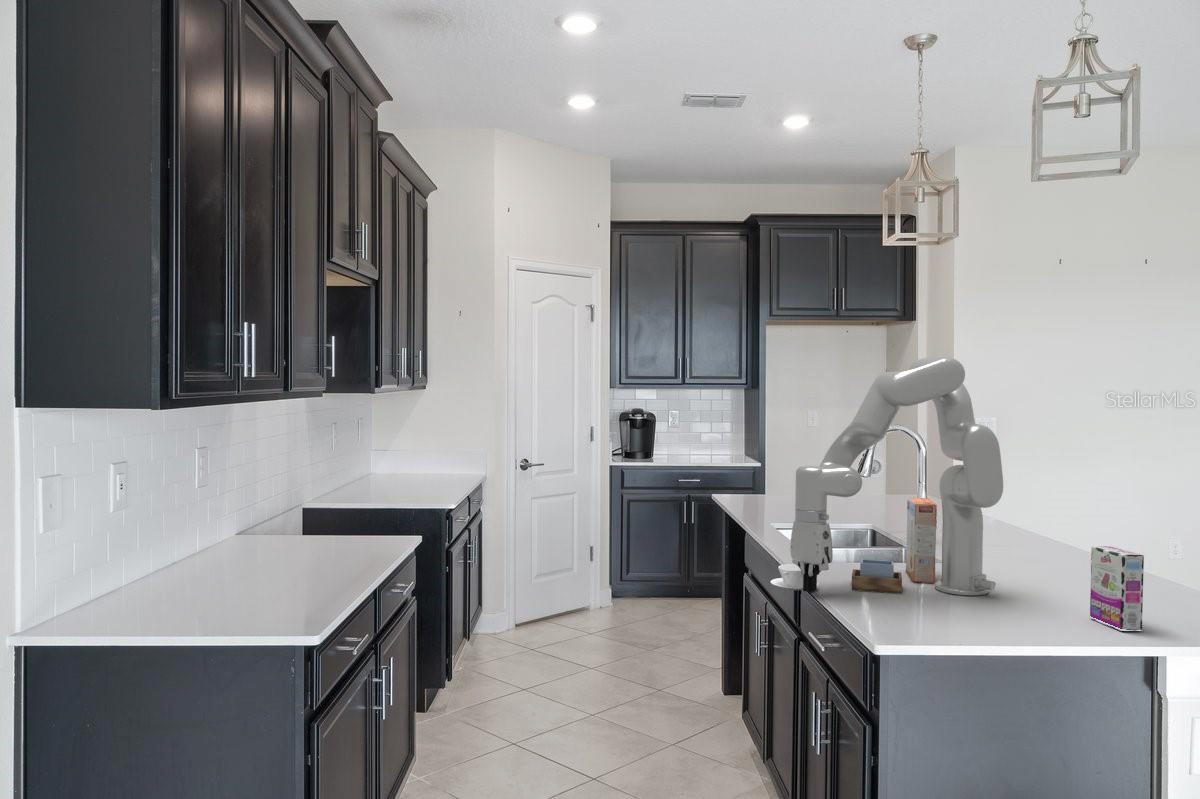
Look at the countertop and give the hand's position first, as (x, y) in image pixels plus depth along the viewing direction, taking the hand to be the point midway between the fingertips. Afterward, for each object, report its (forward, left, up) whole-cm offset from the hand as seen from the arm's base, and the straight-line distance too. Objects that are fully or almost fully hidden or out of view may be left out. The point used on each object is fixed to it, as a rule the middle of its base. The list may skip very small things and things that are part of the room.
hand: (809, 590), depth 222 cm
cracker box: (-3, -40, -1) cm, 40 cm away
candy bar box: (-56, -35, -1) cm, 66 cm away
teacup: (+7, -2, -1) cm, 8 cm away
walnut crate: (-4, -20, -1) cm, 21 cm away
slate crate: (-4, -20, 0) cm, 21 cm away
